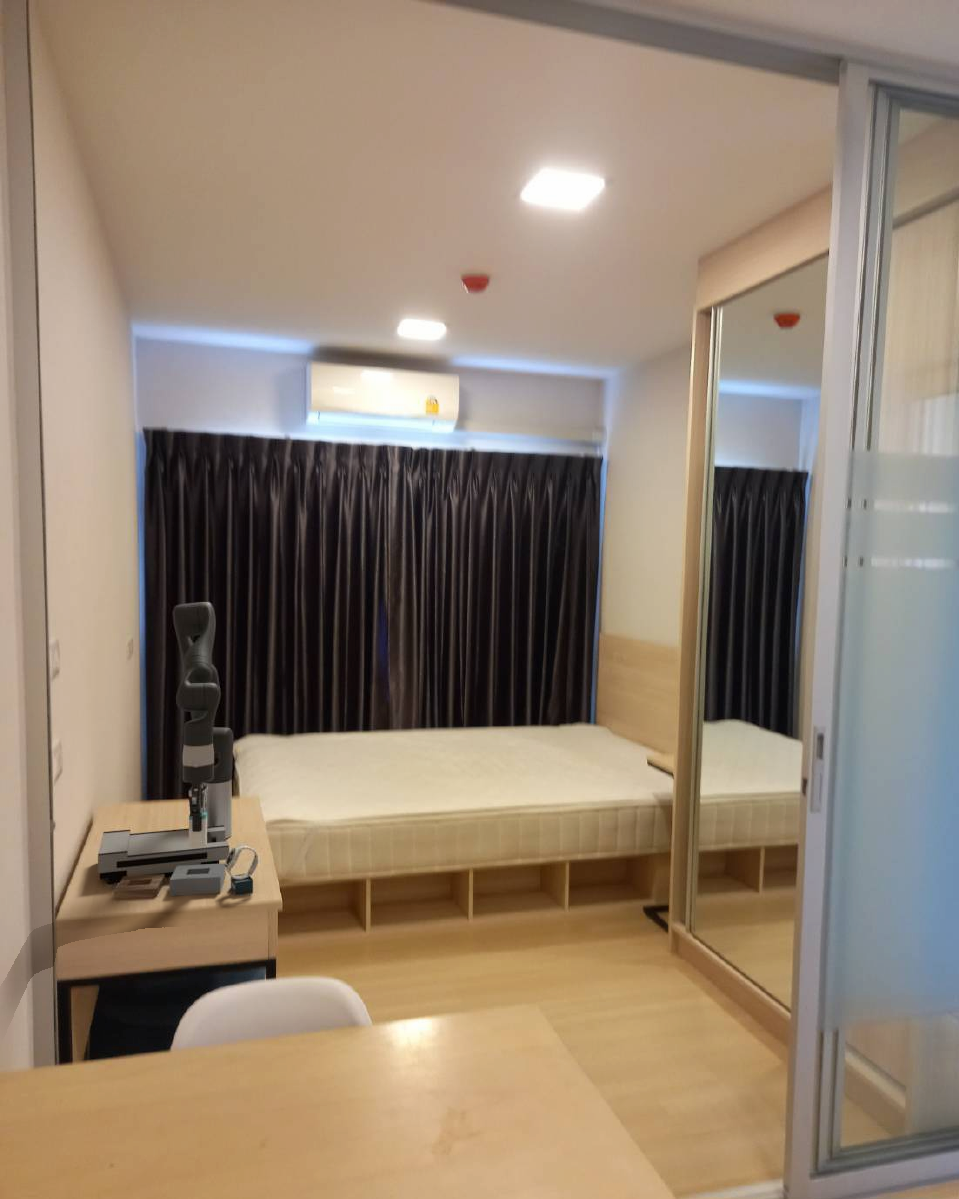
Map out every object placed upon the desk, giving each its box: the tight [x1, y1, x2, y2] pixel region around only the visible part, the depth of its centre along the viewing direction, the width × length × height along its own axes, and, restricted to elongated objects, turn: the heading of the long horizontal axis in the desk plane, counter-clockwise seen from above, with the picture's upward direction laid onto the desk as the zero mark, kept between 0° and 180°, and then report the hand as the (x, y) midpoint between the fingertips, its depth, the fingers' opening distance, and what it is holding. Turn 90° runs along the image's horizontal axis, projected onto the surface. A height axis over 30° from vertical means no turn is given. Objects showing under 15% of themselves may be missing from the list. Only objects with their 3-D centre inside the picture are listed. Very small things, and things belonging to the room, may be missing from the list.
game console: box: [97, 825, 230, 885], centre depth 223 cm, size 21×32×8 cm, turn 111°
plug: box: [188, 812, 207, 847], centre depth 208 cm, size 3×4×8 cm, turn 101°
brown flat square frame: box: [113, 874, 166, 900], centre depth 205 cm, size 10×10×2 cm
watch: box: [224, 844, 259, 896], centre depth 206 cm, size 6×8×11 cm
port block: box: [169, 862, 226, 897], centre depth 208 cm, size 10×12×4 cm
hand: (198, 829), depth 208 cm, fingers closed on plug, 2 cm apart
